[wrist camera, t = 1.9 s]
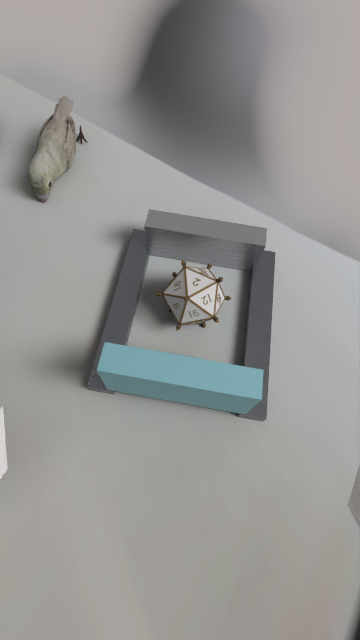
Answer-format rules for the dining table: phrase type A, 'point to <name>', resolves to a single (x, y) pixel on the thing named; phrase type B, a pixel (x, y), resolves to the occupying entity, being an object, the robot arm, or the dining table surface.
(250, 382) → the sliding jaw
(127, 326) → the vise base
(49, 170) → the decorative bird
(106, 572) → the dining table surface
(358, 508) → the robot arm
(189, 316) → the game die
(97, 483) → the dining table surface
